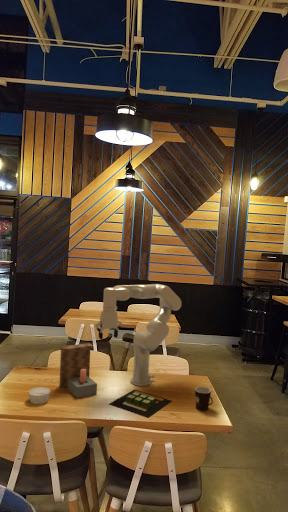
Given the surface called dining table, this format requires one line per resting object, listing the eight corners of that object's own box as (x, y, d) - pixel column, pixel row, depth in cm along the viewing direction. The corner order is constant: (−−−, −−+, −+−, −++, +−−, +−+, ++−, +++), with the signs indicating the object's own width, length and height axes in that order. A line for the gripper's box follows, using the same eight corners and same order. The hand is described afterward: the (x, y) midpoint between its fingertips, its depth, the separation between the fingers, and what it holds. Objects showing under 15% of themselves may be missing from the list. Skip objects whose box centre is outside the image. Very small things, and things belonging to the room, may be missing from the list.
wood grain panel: (87, 381, 231) (89, 343, 230) (91, 385, 226) (93, 345, 225) (59, 386, 221) (60, 346, 220) (63, 390, 216) (64, 349, 215)
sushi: (171, 402, 209) (172, 395, 209) (148, 419, 188) (148, 411, 188) (134, 390, 222) (134, 384, 222) (108, 405, 201) (108, 398, 201)
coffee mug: (192, 404, 205) (193, 386, 205) (207, 404, 206) (208, 386, 206) (197, 414, 194) (198, 395, 193) (213, 414, 195) (214, 395, 194)
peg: (83, 388, 217) (84, 368, 216) (86, 390, 214) (87, 370, 214) (78, 389, 215) (79, 369, 215) (81, 391, 213) (81, 371, 212)
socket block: (86, 385, 225) (86, 375, 225) (96, 394, 213) (97, 383, 213) (67, 388, 218) (67, 378, 218) (76, 398, 207) (77, 387, 206)
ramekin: (30, 406, 194) (30, 396, 194) (26, 398, 204) (26, 388, 204) (52, 403, 199) (52, 393, 199) (47, 395, 209) (47, 385, 209)
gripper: (119, 307, 227) (118, 335, 227) (93, 308, 217) (91, 338, 218) (125, 309, 220) (124, 338, 221) (98, 311, 211) (97, 341, 212)
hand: (108, 338), depth 220 cm, fingers open, 9 cm apart
